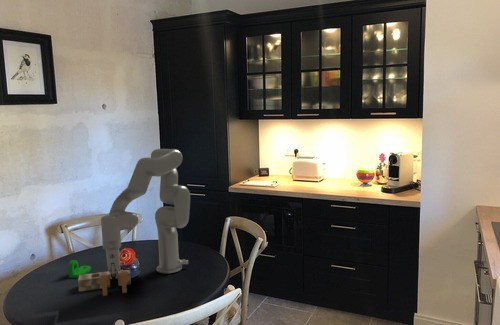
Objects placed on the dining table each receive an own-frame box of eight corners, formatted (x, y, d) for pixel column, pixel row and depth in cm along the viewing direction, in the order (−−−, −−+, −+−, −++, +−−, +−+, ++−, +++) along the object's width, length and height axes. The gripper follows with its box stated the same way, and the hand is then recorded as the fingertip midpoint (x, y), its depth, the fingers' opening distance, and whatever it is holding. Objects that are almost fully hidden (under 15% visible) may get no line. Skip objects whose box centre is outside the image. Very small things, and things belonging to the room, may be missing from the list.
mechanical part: (81, 278, 197) (79, 262, 196) (69, 278, 198) (67, 262, 197) (93, 269, 209) (92, 254, 208) (82, 269, 210) (81, 254, 209)
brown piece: (128, 289, 182) (127, 272, 181) (129, 292, 179) (127, 274, 179) (100, 293, 179) (99, 275, 178) (100, 296, 176) (99, 278, 175)
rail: (130, 278, 195) (129, 268, 194) (131, 284, 188) (130, 273, 188) (80, 285, 188) (79, 275, 188) (78, 291, 181) (78, 280, 181)
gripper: (121, 248, 170) (124, 290, 172) (120, 237, 186) (122, 276, 188) (102, 250, 167) (104, 293, 169) (103, 239, 184) (105, 278, 186)
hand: (114, 284), depth 179 cm, fingers open, 6 cm apart
